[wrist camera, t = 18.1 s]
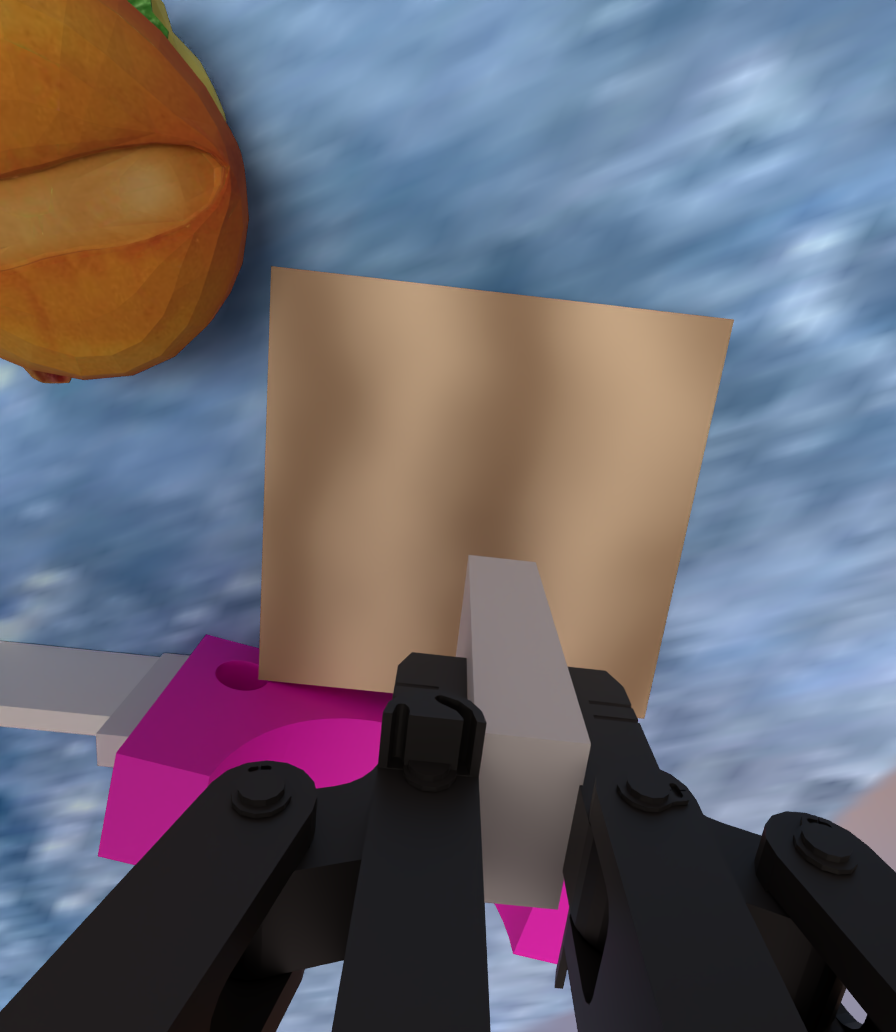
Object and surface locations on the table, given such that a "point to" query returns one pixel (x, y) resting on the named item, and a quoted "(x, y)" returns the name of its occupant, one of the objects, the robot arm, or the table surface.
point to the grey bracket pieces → (81, 691)
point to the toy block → (258, 757)
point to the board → (473, 470)
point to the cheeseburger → (110, 190)
